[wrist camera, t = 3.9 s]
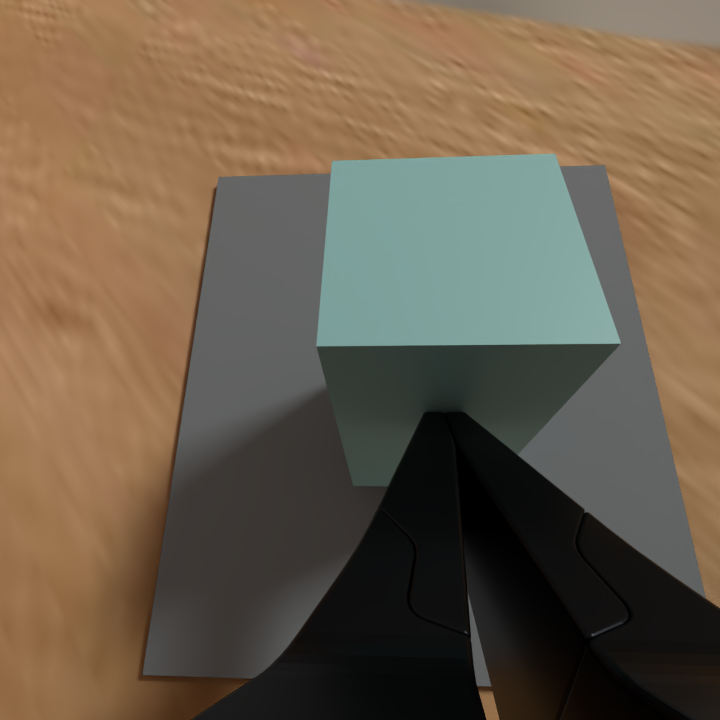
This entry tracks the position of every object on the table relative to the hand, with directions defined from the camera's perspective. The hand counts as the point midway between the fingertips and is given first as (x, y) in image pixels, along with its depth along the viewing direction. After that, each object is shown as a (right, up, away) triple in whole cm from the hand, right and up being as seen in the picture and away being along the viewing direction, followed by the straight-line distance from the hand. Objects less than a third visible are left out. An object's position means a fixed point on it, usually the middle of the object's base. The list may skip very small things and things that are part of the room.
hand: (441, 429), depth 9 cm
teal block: (0, -1, +6) cm, 6 cm away
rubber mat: (0, +1, +8) cm, 8 cm away
